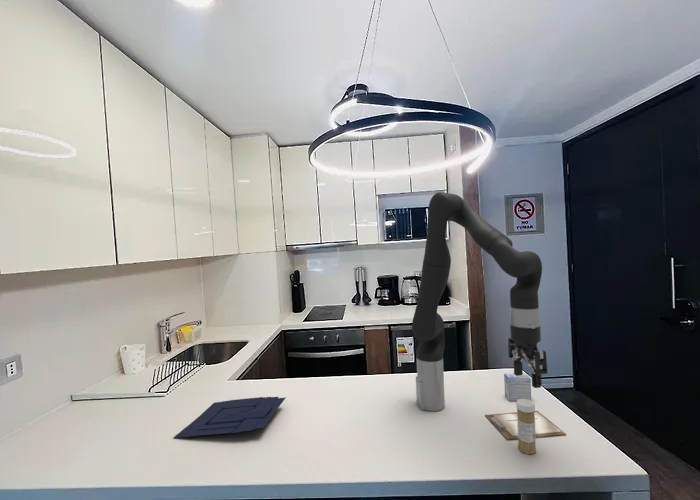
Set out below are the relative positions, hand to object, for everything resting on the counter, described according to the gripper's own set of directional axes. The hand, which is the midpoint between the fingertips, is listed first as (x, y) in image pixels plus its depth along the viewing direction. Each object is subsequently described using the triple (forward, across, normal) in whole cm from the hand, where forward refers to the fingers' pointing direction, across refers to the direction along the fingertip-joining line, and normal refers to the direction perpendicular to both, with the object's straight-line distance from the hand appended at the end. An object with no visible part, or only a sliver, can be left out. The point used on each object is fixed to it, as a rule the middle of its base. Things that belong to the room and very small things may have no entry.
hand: (527, 380), depth 96 cm
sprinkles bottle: (+19, +1, -2) cm, 19 cm away
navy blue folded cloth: (+18, -30, -88) cm, 94 cm away
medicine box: (+19, -28, +13) cm, 36 cm away
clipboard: (+19, -11, +5) cm, 22 cm away
